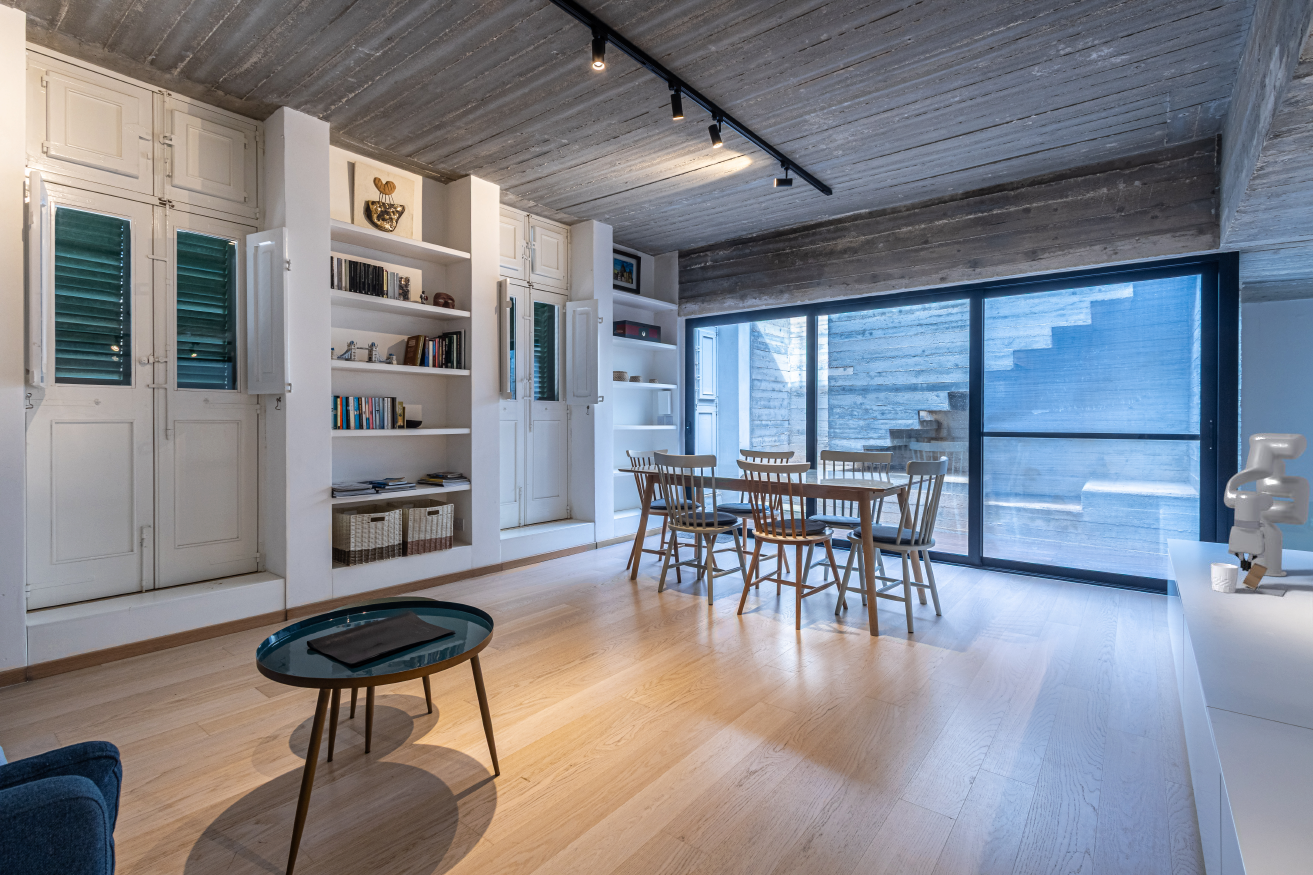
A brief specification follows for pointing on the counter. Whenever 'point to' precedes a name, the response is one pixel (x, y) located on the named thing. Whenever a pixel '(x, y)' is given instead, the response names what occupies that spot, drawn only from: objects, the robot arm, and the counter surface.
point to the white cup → (1224, 577)
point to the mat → (1270, 590)
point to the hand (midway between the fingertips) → (1245, 570)
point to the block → (1254, 576)
